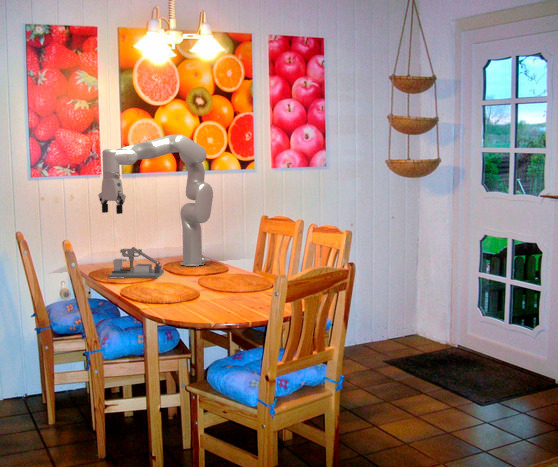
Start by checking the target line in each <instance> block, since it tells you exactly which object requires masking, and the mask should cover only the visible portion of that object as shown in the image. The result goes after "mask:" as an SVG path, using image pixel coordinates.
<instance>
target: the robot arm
mask: <svg viewBox="0 0 558 467" xmlns="http://www.w3.org/2000/svg"><path fill="white" fill-rule="evenodd" d="M173 153H179V155H178V156H179V157H180V158H179V159H180V160H181V161H182V162H183V164H185V166H186V169H187V178H186V184H185V185H186V186H185V196H186V197H187V199H188V200H191V201H195V202H188V203H185V204H183V205H182V207H181V208H180V220H181V227H182V229H181V230H182V261H180V263H179V265H180V264H181V265H186V266H196V267H200V266H199V265H203V266H205V265H206V262H207V263H211V257H204V255H202V254H203V252H202V251H203V250H202V243H203V242H202V227H201V224H204V223H206V222H208V221H209V219H210V218H211V214H212V209H213V198H214V191H213V187H212V186H211V185H210V183H209V182H205V175H206V172H205V171H206V170H205V166H204V164H203V163H204V162H205V161H206V159H207V150H205V148H204V146H201V144H199V143H196V142H195V141H193V139H191V138H189V137H187V136H185V135H184V134H168V135H165V136H162V137H159V138H158V137H157V138H154V139H151V140H148V141H144V142H143V141H142V142H139V143H135V144H131V145H127V146H124V147H121V148H120V147H119V148H117V149H115V148H109V149H108V148H107V149H106V148H105V149H103V150H102V152H101V154H102V182H101V192H100V193H98V194H97V196H98V200H99V201H100V204H101V212H102V213H103V214H104V213H105V214H106V213H108V212H109V203H108V202H109V201H111V202H115V203H116V205H115V207H116V210H115V211H116V214H117V215H120V214H123V206H124V203H125V200H126V198H127V196H126V195H125V194H124V190H123V189H124V188H123V183H122V179H120V177H121V173H120V170H121V169H120V166H132V165H134V164H135V163H136V162H137V161H138V160H150V159H151V160H152V159H156V158H158V157H162V156H166V155H169V154H173ZM204 264H205V265H204ZM181 265H180V266H181ZM186 266H185V267H186Z"/></svg>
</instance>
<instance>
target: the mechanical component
mask: <svg viewBox="0 0 558 467" xmlns="http://www.w3.org/2000/svg"><path fill="white" fill-rule="evenodd" d="M137 249H138V250H139V251H141V252H143V250H142V248H137ZM119 252H120V254H121V256H122V257H124V258H128V261H129V269H130V268H133V269H134V261H135V258H138V257H140V256H141V255H140V254H139V253H137V252H135V251H134V250H132V249H131V248H121V249H120V250H119ZM135 254H138V255H135Z"/></svg>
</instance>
